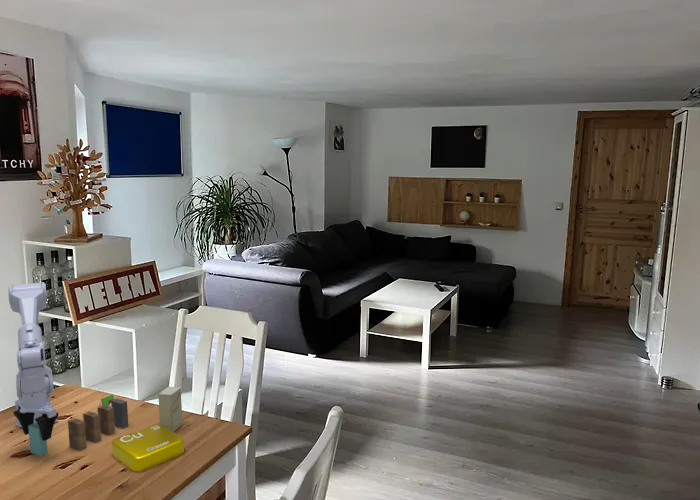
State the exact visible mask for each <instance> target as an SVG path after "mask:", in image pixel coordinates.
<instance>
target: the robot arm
mask: <svg viewBox="0 0 700 500" xmlns="http://www.w3.org/2000/svg"><path fill="white" fill-rule="evenodd" d="M46 286H47V284H46V283H45V282H44V281H41V282H36V283H21V284H10V285H9V286H8V287H7V289H8V291H7V292H8V302H9V305H10V309H11V311H12V312H14V313H18V314H19V315H20V318H21V322H22V323H21V324H22V326H20V327H19V329H18V330H17V336H18V337H17V339H18V340H17V341H18V342H17V343H18V350H17V352H16V362H17V363H16V364H17V368H18V372H17V374H16V376H15V378H16V380H15V384H16V385H15V386H16V387H15V388H16V389H15V390H16V396H17V398H18V399H17V400H15V401H14V405H15V408H16V410H14V411H13V413H12V414H13V416H14V417H15V418H16V419H17V422H16V423H15V424H14V425H15V426H17V427H18V428H22V431H23V433H24V435H26V436H27V435H29V428H28V426H29V425H31V424H33V423H37V424H38V426H39V428H40V432H41V437H42V440H43V441H45V440H47V441H48V440H50V439H52V434H53V430H54V429H53V428H54V426H55V424H56V423H57V422H59V419H58V418H59V412H57V410H56V409H57V408H56V407H53V406H52V405H51V399H50V397H51V395H52V394H53V393H54V391H55V389H54V378H53V377H54V376H53V370H52V368H51V367H49V366H47V365H46V355H45V347H44V342H43V336H42V328H41V327H40V326H39V314H40V313H41V312H40V311H42V310H44V309H46V308H47V304H48V303H47V301H48V299H47V298H48V297H47V287H46ZM42 361H43V363H42Z"/></svg>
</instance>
